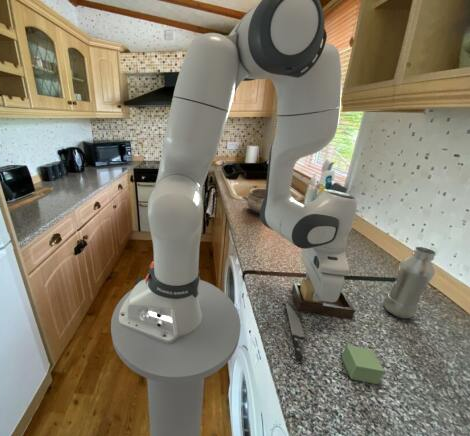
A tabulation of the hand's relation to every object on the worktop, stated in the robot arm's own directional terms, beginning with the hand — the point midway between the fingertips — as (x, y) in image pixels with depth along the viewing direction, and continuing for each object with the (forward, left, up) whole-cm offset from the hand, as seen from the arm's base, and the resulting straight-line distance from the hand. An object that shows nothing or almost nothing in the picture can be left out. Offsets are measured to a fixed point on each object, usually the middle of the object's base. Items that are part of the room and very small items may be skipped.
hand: (312, 292), depth 69 cm
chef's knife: (-6, -11, -4) cm, 13 cm away
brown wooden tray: (+3, 0, -4) cm, 5 cm away
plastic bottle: (+23, +1, -4) cm, 23 cm away
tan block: (0, 0, -2) cm, 2 cm away
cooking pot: (-6, +71, -4) cm, 71 cm away
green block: (+5, -20, -4) cm, 21 cm away
